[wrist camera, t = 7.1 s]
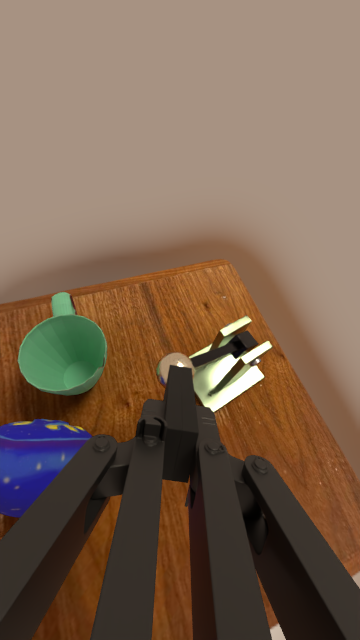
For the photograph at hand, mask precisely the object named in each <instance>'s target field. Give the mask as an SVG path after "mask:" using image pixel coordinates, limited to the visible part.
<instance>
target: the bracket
mask: <svg viewBox="0 0 360 640" xmlns="http://www.w3.org/2000/svg"><path fill="white" fill-rule="evenodd" d="M250 323H251V320H250V319H249V317H248V316H247V315H246V316H245V317H243V318H241V319H239V320H237V321H236V322H234V323H229V324H227V325H226V326H225V327H224V328H223V329H221V330H220V331H219V333H218V334H217V336H216V338H215V340H214V342H213V343H212V344H210V345H209V346H207V347H205V348H203V349H202V350H200V351H198V352H196V353H195V354H193V355H191V356H190V357H189V358H192V357H195V356H197V355H200V354H203V353H205V352H208V351H211V350H213V349H216V348H219V347H221V346H224V345H226V344H227V343H228V342H229V341H230V340H231V339H232V338H233V337H234V336H235V335H236V334H239V333H242V332H244V331H245V330H246V328H247V327H248V325H249V324H250ZM272 347H273V346H272V345H271V344H270V343H269V342H268V341H266V342H264V343H263V344H261V345H259V346H258V347H256V348H255V349H253V350H251V351H250V352H248V353H247V354H245V355H243V356H242V357H239V358H237V359H234V357H233V356H232V355H230V356H227V357H225V358H223V359H221V360H218V361H216V362H214V363H211V364H209V365H207V366H204V367H202V368H200V369H198V370H195V375H194V379H193V384H194V393H195V396H196V398H197V400H198V401H199V403H200V404H201V406H204V407H210V409H211V410H212V411H213V412H216V411H217V410H219V409H220V408H222V407H223V406H224V405H226V404H227V403H229V402H230V401H232V400H233V399H235V398H236V397H237V396H239V395H240V394H242V393H243V392H245V391H246V390H248V389H249V388H250V387H252V386H253V385H255V384H256V383H258V382H259V381H261V380H262V379H263V378H265V377H264V375H263V374H262V373H261V371H260V370H259V369H258V368H257V366H256V365H257V364H259V363H260V362H261V360H260V359H261V358H262V357H263V356H264V355H265V354H266V353H267V352H268V351H269V350H270V349H271V348H272Z"/></svg>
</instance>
